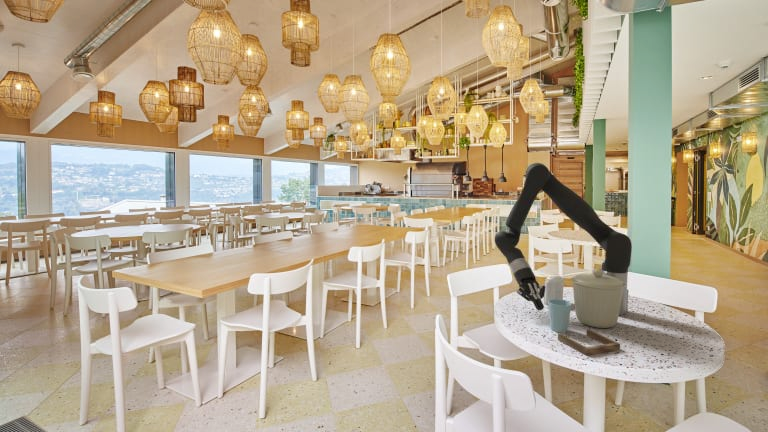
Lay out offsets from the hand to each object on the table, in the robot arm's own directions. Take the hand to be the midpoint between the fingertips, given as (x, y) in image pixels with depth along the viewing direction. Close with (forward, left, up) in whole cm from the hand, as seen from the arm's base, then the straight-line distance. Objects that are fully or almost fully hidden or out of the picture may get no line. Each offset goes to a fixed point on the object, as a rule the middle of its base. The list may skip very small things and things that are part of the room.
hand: (541, 309), depth 144 cm
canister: (-18, +9, -5) cm, 21 cm away
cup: (0, +10, -5) cm, 11 cm away
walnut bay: (0, +22, -4) cm, 23 cm away
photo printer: (-20, -16, -5) cm, 26 cm away
